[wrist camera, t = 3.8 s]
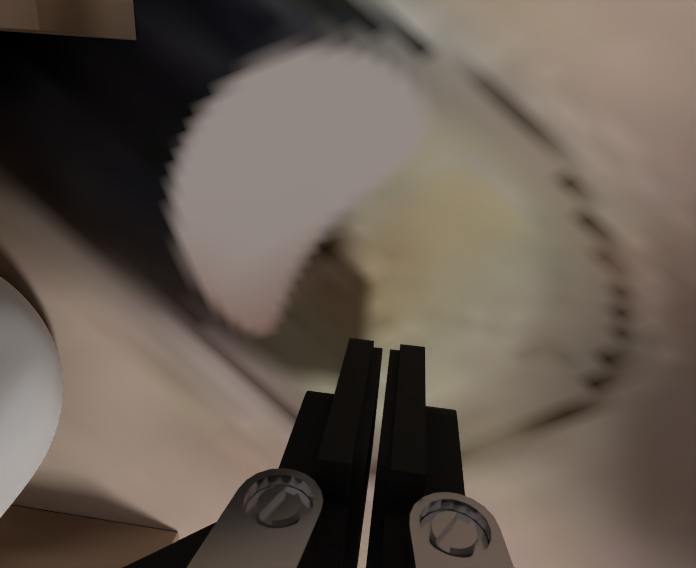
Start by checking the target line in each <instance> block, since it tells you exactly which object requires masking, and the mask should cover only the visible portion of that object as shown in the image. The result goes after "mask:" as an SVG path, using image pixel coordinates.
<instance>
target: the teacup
mask: <svg viewBox="0 0 696 568" xmlns="http://www.w3.org/2000/svg"><path fill="white" fill-rule="evenodd" d="M62 403H63V374H62V367H61V362H60V358H59V354H58V351H57V348H56V346H55V343H54V341H53V338H52V336H51V334H50V332H49V330H48V328H47V327H46V325H45V323H44V322H43V320H42V319H41V317H40V316H39V314H38V313H37V311H36V310H35V309H34V308H33V306H32V305H31V304H30V303H29V302H28V301H27V300H26V298H25V297H24V296H23V295H22V294H21V293H20V292H19V291H18V290H16V289H15V288H14V287H13V286H12V285H11V284H9V283H8V282H7V281H6V280H4V279H3V278H2V277H0V518H1V516H2V515H3V514H4V513H5V512H6V510H7V509H8V508H9V507H10V505H11V504H12V503H13V502H14V500H15V499H16V498H17V497H18V495H19V494H20V493H21V491H22V490H23V489H24V488H25V486H26V485H27V484H28V482H29V481H30V480H31V478H32V477H33V475H34V474H35V472H36V471H37V469H38V468H39V466H40V465H41V463H42V461H43V459H44V458H45V456H46V454H47V452H48V450H49V447H50V445H51V443H52V440H53V438H54V435H55V432H56V429H57V426H58V423H59V419H60V415H61V410H62Z"/></svg>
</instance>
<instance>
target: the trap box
mask: <svg viewBox="0 0 696 568" xmlns="http://www.w3.org/2000/svg"><path fill="white" fill-rule="evenodd" d="M0 31H7V32H22V33H37V34H52V35H66V36H81V37H96V38H110V39H125V40H136V31H135V19H134V7H133V0H0ZM176 541H178V532H172V531H166V530H160V529H154V528H148V527H142V526H135V525H129V524H123V523H117V522H111V521H105V520H99V519H92V518H86V517H80V516H74V515H68V514H62V513H56V512H49V511H43V510H37V509H31V508H25V507H19V506H13V505H10V507H9V508H8V509H7V510H6V512H5V513H4V514H3V515H2V516H1V518H0V568H122V567H125V566H127V565H129V564H131V563H133V562H135V561H137V560H139V559H141V558H143V557H145V556H147V555H149V554H151V553H154V552H156V551H158V550H160V549H162V548H164V547H166V546H168V545H170V544H172V543H174V542H176Z"/></svg>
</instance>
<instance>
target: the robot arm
mask: <svg viewBox="0 0 696 568" xmlns="http://www.w3.org/2000/svg"><path fill="white" fill-rule="evenodd" d="M382 349H383V348H374V341H370V340H361V339H353V338H350V339H349V343H348V346H347V350H346V354H345V357H344V361H343V365H342V368H341V372H340V376H339V379H338V383H337V387H336V391H335V394H329V393H321V392H314V391H307V392H306V394H305V397H304V399H303V402H302V405H301V408H300V410H299V413H298V416H297V419H296V422H295V424H294V427H293V430H292V433H291V435H290V438H289V441H288V444H287V446H286V449H285V452H284V455H283V458H282V460H281V463H280V466H279V469H269V470H266V471H263V472H260V473H257V474H255V475H254V476H252V477H250V478H249V479H247V480H246V481H245V482H244V483H243V484H242V485H241V487H240V488H239V489H238V490H237V492H236V493H235V495H234V496H233V498H232V499H231V501H230V502H229V504H228V506H227V507H226V509H225V510H224V512H223V513H222V515H221V516H220V518H219V519H218V521H217V522H216V523H214V524H211V525H209V526H207V527H205V528H203V529H201V530H199V531H197V532H195V533H193V534H191V535H189V536H187V537H185V538H182V539H180V540H178V541H176V542H174V543H172V544H170V545H168V546H166V547H164V548H162V549H160V550H158V551H156V552H154V553H151V554H149V555H147V556H145V557H143V558H141V559H139V560H137V561H135V562H133V563H131V564H129V565H127V566H125V567H122V568H357V564H358V556H359V549H360V541H361V533H362V526H363V518H364V511H365V503H366V495H367V488H368V480H369V472H370V465H371V457H372V448H373V438H374V429H375V419H376V409H377V399H378V389H379V379H380V370H381V360H382ZM366 568H514V567H513V564H512V561H511V558H510V555H509V552H508V550H507V547H506V544H505V541H504V538H503V535H502V532H501V530H500V527H499V525H498V523H497V522H496V520H495V518H494V516H493V515H492V514H491V513H490V512H489V511H488V510H487V509H486V508H485V507H484V506H483V505H481V504H480V503H478V502H476V501H475V500H473V499H471V498H469V497H466V496H465V491H464V481H463V471H462V461H461V451H460V441H459V431H458V421H457V413H456V411H455V410H452V409H444V408H437V407H429V406H426V403H425V347H420V346H411V345H403V344H400V351H399V350H391V349H390V357H389V365H388V374H387V383H386V392H385V400H384V409H383V418H382V427H381V435H380V444H379V453H378V462H377V471H376V480H375V489H374V498H373V508H372V517H371V526H370V535H369V545H368V554H367V563H366Z"/></svg>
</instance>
